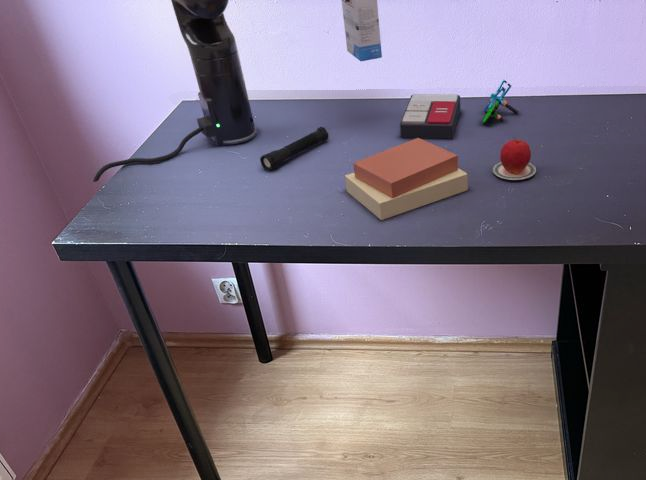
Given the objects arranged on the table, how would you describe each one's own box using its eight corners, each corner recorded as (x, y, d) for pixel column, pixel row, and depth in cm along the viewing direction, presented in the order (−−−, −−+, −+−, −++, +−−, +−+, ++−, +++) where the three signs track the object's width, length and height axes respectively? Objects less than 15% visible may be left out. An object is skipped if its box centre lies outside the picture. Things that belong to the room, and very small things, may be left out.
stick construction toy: (487, 94, 148) (505, 70, 142) (512, 112, 150) (531, 89, 144) (472, 129, 142) (490, 106, 136) (498, 147, 144) (518, 125, 138)
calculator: (399, 121, 135) (411, 90, 146) (400, 140, 138) (412, 109, 149) (452, 121, 134) (460, 91, 144) (452, 141, 137) (460, 110, 147)
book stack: (381, 220, 112) (377, 188, 108) (346, 191, 121) (342, 160, 117) (467, 190, 119) (467, 158, 115) (428, 164, 128) (427, 134, 124)
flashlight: (261, 168, 129) (258, 154, 127) (319, 138, 139) (317, 125, 137) (272, 172, 128) (269, 157, 126) (330, 142, 138) (328, 127, 136)
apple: (506, 159, 128) (507, 126, 124) (543, 169, 124) (545, 135, 120) (484, 175, 123) (485, 142, 119) (522, 186, 120) (523, 151, 115)
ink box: (383, 58, 135) (376, -23, 126) (360, 62, 134) (352, -19, 124) (368, 47, 141) (360, -31, 131) (346, 51, 140) (336, -28, 130)
